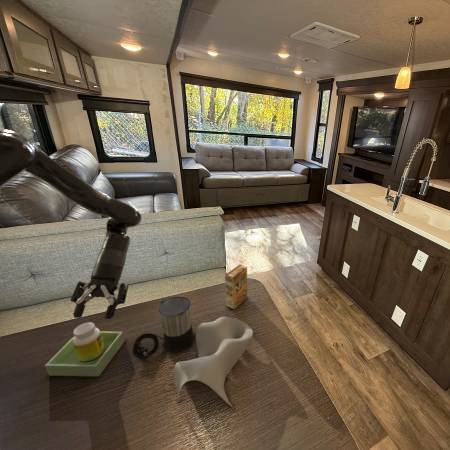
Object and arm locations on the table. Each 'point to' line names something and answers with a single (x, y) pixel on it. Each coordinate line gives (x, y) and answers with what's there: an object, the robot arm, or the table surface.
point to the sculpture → (215, 354)
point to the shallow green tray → (71, 366)
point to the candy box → (236, 286)
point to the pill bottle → (88, 343)
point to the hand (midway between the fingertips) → (92, 318)
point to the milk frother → (170, 327)
